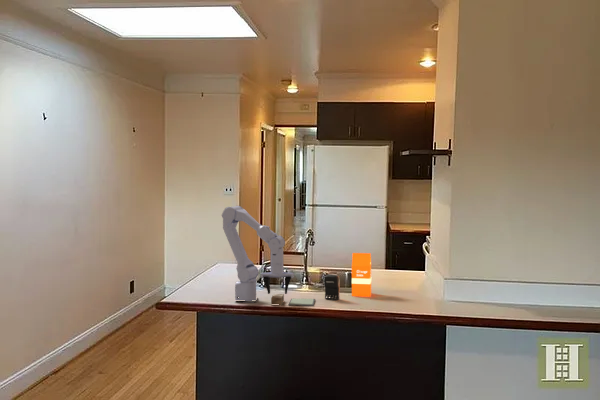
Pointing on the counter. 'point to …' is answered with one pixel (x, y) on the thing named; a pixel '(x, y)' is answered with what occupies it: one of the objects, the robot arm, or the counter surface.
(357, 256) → the orange juice
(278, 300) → the tan block
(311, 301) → the mat
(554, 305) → the counter surface
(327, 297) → the black upright block
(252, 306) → the counter surface
